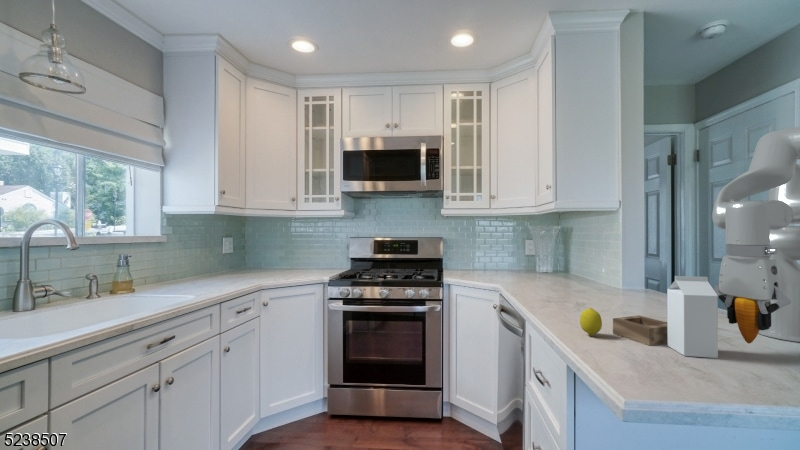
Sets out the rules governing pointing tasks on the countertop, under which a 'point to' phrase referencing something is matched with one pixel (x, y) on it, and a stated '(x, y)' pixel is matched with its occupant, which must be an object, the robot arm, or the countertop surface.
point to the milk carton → (692, 317)
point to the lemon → (590, 321)
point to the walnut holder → (641, 329)
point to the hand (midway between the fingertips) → (748, 325)
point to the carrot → (747, 318)
